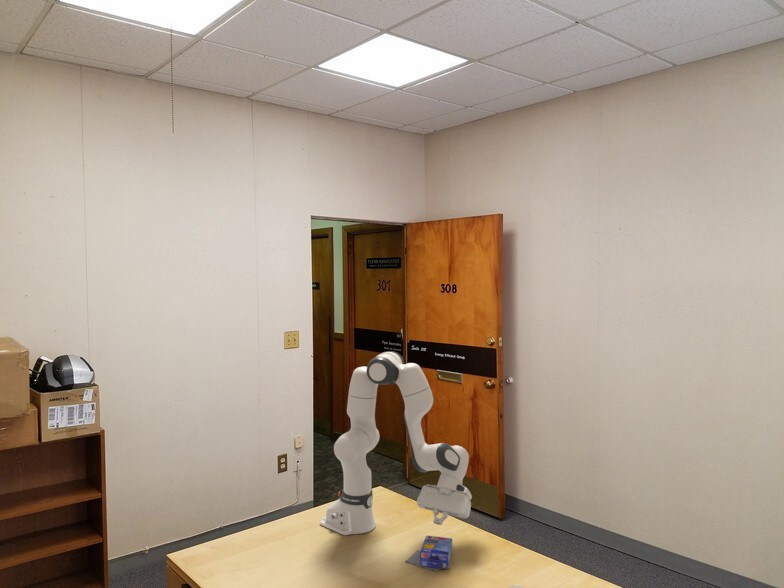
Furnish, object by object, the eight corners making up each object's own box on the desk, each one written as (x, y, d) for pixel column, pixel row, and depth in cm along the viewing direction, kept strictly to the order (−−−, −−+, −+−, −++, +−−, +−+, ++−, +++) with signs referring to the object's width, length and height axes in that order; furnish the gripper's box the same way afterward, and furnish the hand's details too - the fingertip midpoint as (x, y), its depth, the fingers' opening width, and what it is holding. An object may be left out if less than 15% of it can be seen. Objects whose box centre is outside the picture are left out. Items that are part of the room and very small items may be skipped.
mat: (405, 562, 191) (405, 560, 191) (417, 551, 199) (417, 549, 199) (436, 571, 185) (436, 570, 185) (448, 559, 193) (448, 558, 193)
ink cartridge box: (452, 537, 197) (447, 558, 183) (452, 552, 197) (447, 574, 183) (425, 534, 199) (418, 554, 185) (425, 549, 199) (418, 570, 185)
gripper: (421, 479, 210) (409, 513, 202) (471, 489, 200) (460, 526, 192) (426, 486, 214) (414, 521, 206) (476, 497, 204) (465, 534, 196)
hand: (437, 523), depth 199 cm, fingers closed
